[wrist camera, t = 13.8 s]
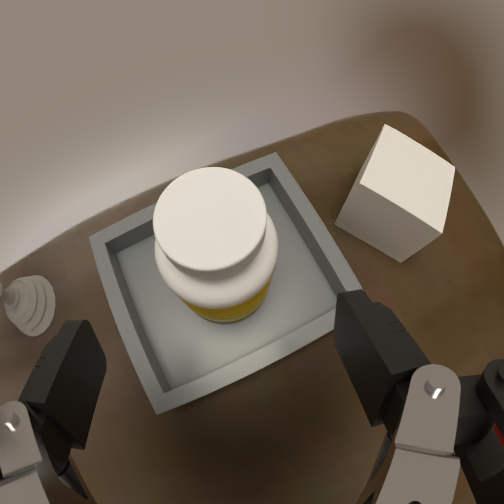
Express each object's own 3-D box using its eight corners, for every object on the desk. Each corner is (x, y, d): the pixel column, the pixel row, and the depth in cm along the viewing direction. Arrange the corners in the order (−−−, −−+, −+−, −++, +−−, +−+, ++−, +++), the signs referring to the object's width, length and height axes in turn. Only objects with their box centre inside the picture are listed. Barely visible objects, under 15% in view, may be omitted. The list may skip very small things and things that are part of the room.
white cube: (400, 263, 21) (442, 234, 16) (333, 225, 22) (359, 183, 17) (419, 204, 23) (455, 166, 17) (360, 169, 24) (384, 123, 18)
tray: (169, 407, 18) (156, 414, 15) (106, 252, 21) (88, 237, 18) (355, 312, 20) (371, 305, 17) (272, 175, 23) (275, 152, 21)
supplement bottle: (281, 304, 19) (315, 256, 10) (201, 337, 18) (156, 320, 9) (248, 230, 21) (250, 134, 11) (172, 260, 20) (118, 182, 11)
